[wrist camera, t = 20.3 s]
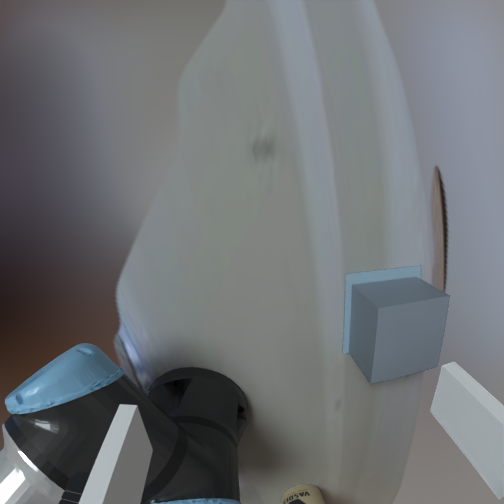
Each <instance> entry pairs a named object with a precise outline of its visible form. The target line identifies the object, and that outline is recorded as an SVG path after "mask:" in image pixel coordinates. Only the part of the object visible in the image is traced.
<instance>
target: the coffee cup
mask: <svg viewBox="0 0 504 504" xmlns="http://www.w3.org/2000/svg"><path fill="white" fill-rule="evenodd" d="M282 503H283V504H325V502H324V500H323V497H322V495H321V492H320V490H319V488H318V487H317V486H315V485H311V484H303V485H298V486H294V487H292V488H290V489H288V490H287V491H285V492H284V494H283V496H282Z"/></svg>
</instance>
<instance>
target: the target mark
mask: <svg viewBox="0 0 504 504" xmlns="http://www.w3.org/2000/svg"><path fill="white" fill-rule="evenodd" d="M415 276H416V277H418V278H419V279H421V265H419V266H411V267H403V268H394V269H386V270H377V271H368V272H359V273H349V274H345V307H344V333H343V351H342V354H347V353H349V337H350V318H351V291H352V284H361V283H369V282H377V281H385V280H393V279H400V278H408V277H415Z"/></svg>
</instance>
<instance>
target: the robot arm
mask: <svg viewBox="0 0 504 504" xmlns="http://www.w3.org/2000/svg"><path fill="white" fill-rule="evenodd" d="M5 404H6V406H7V409H8V411H9V412H10V413H12V415H11V416H10V417H9V418H8V419H7V420H6V422H5V423H4V424H3V425H2V427H3V435H4V442H5V443H4V448H3V450H2V451H1V452H0V504H241V502H240V492H239V477H238V459H237V445H238V443H239V441H240V438H241V436H242V434H243V432H244V429H245V427H246V424H247V419H248V411H247V402H246V399H245V396H244V394H243V392H242V391H241V389H240V388H239V387H238V386H237V385H236V384H235V383H234V382H233V381H231V380H230V379H229V378H227V377H225V376H224V375H222V374H220V373H217V372H214V371H211V370H208V369H203V368H180V369H175V370H172V371H169V372H167V373H165V374H163V375H162V376H160V377H159V378H158V379H157V380H156V381H155V382H154V383H153V384H152V386H151V388H150V390H149V393H148V396H147V395H146V394H145V393H143V392H142V391H141V390H140V389H139V388H138V387H137V386H136V385H135V384H134V383H133V382H132V381H131V380H130V379H129V378H128V377H127V376H126V375H125V371H124V370H123V369H122V368H120V367H118V366H117V365H116V364H114V363H113V362H112V361H111V360H110V359H109V358H108V357H107V356H106V355H105V354H104V353H103V352H102V351H101V350H100V349H99V348H98V347H96V346H94V345H92V344H88V343H86V344H79V345H77V346H75V347H73V348H71V349H70V350H68V351H66V352H65V353H63V354H62V355H60V356H59V357H57V358H56V359H55V360H53V361H52V362H50V363H49V364H47V365H46V366H45V367H43V368H42V369H40V370H39V371H38V372H37V373H35V374H34V375H32V376H31V377H30V378H29V379H27V380H26V381H25V382H24V383H22V384H21V385H20V386H19V387H18V388H17V389H16V390H14V391H13V392H12V393H10V394H9V395H8V397H7V398H6V399H5ZM430 412H431V413H432V415H434V417H435V418H436V419H437V421H438V422H439V423H440V424H441V426H442V427H443V428H444V429H445V431H446V432H447V433H448V434H449V436H450V437H451V438H452V439H453V441H454V442H455V443H456V445H457V446H458V447H459V448H460V450H461V451H462V452H463V453H464V455H465V456H466V457H467V459H468V460H469V461H470V462H471V464H472V465H473V466H474V468H475V469H476V470H477V471H478V473H479V474H480V475H481V477H482V478H483V479H484V481H485V482H486V483H487V484H488V486H489V487H490V489H491V490H492V491H493V493H494V494H495V495H496V497H497V498H498V499H501V498H503V497H504V406H503V405H502V404H501V403H500V402H499V401H498V400H497V399H495V398H494V397H493V396H492V395H491V394H490V393H489V392H488V391H487V390H486V389H484V388H483V387H482V386H481V385H480V384H479V383H478V382H477V381H476V380H475V379H473V378H472V377H471V376H470V375H469V374H468V373H467V372H466V371H464V370H463V369H462V368H461V367H460V366H458V364H456V363H455V362H452V363H449V364H445V365H443V366H442V368H441V372H440V376H439V380H438V384H437V388H436V391H435V395H434V399H433V402H432V405H431V409H430Z"/></svg>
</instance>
